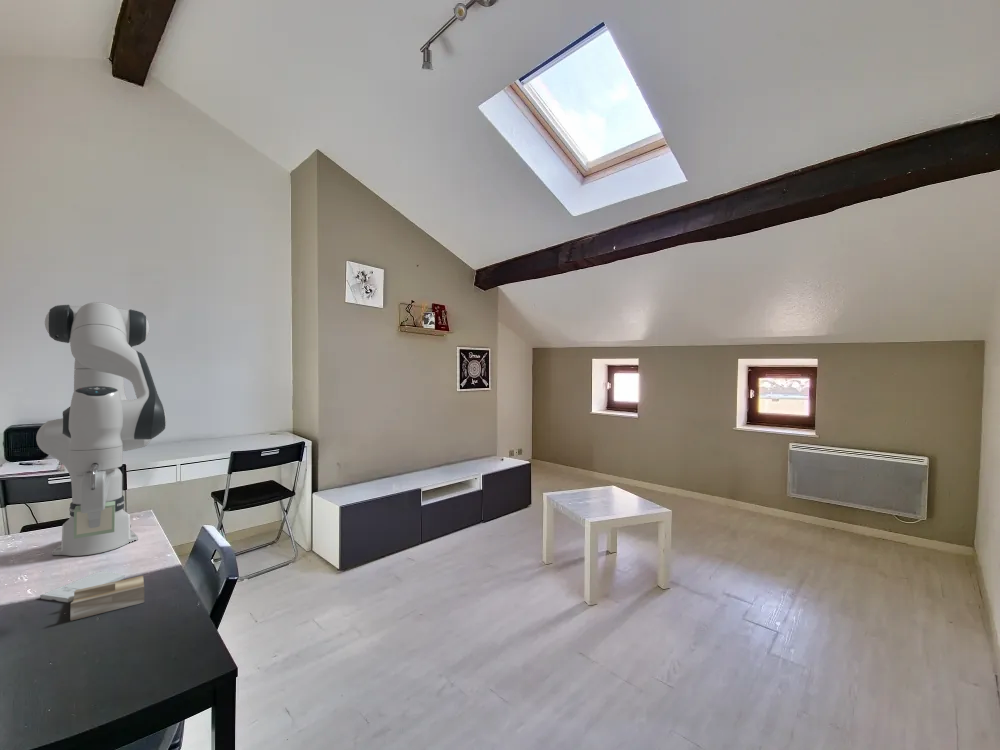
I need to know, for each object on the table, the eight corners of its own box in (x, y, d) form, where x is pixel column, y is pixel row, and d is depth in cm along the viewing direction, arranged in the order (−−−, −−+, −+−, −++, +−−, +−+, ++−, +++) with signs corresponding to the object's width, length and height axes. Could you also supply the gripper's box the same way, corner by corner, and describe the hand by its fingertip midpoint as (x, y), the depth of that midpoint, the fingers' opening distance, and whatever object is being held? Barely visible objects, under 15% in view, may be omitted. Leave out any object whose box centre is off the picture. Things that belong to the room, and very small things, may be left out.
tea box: (75, 533, 96) (75, 506, 96) (114, 527, 101) (115, 500, 101) (73, 539, 93) (73, 510, 93) (114, 532, 97) (114, 505, 97)
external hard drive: (124, 580, 112) (67, 605, 99) (99, 577, 113) (39, 601, 101) (124, 573, 112) (67, 597, 99) (99, 570, 113) (40, 593, 101)
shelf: (75, 598, 101) (75, 583, 101) (143, 583, 109) (143, 568, 109) (70, 621, 92) (70, 603, 92) (144, 602, 100) (144, 586, 100)
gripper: (113, 466, 91) (113, 533, 91) (116, 452, 107) (115, 509, 107) (71, 470, 87) (70, 540, 87) (80, 455, 103) (79, 515, 103)
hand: (95, 523), depth 97 cm, fingers closed on tea box, 4 cm apart
